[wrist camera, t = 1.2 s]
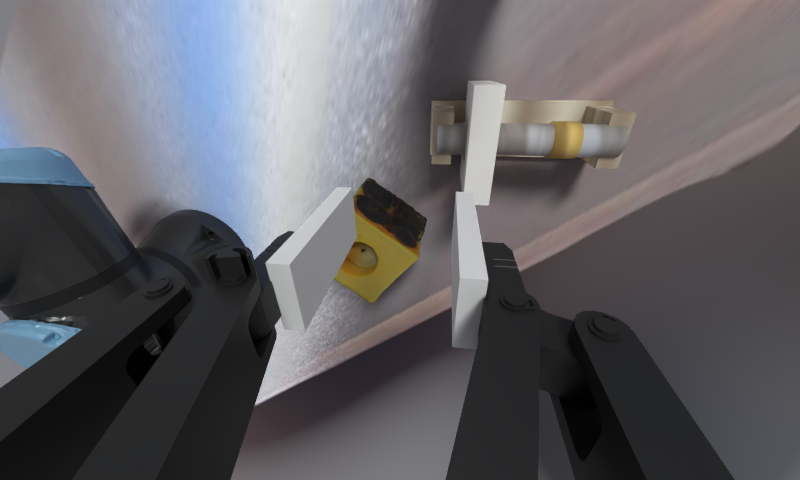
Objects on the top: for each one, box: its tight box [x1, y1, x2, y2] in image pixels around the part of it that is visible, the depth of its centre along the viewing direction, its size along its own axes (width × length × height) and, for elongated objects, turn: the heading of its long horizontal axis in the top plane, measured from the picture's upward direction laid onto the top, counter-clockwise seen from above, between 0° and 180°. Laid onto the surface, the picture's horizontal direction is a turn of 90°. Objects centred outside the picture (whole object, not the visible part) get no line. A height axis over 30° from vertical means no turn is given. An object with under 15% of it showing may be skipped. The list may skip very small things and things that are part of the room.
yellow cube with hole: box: [334, 178, 427, 303], centre depth 39 cm, size 10×10×10 cm
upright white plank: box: [460, 81, 506, 205], centre depth 30 cm, size 2×10×10 cm, turn 1°
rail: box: [430, 100, 637, 169], centre depth 31 cm, size 19×6×8 cm, turn 91°
